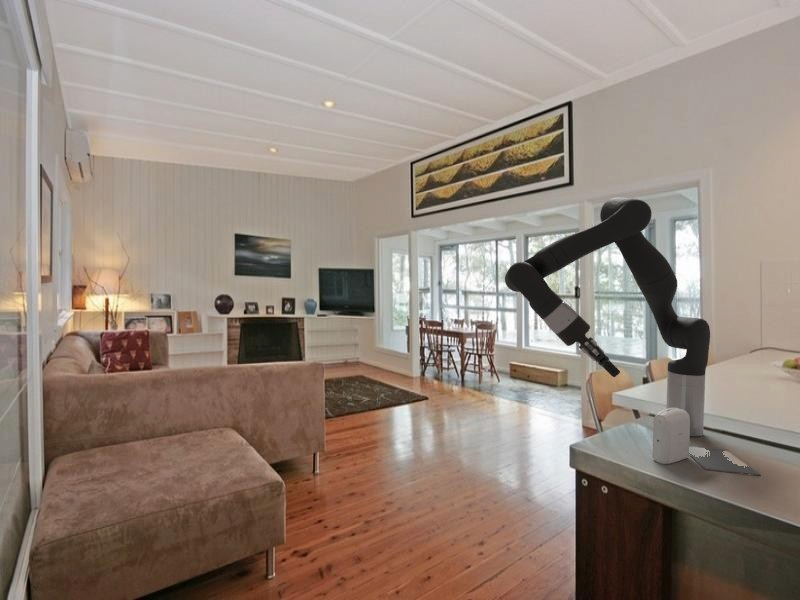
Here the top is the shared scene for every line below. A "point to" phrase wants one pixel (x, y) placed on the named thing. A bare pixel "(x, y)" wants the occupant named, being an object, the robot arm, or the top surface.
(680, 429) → the photo printer
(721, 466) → the charcoal mat
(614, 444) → the top surface
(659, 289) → the robot arm
